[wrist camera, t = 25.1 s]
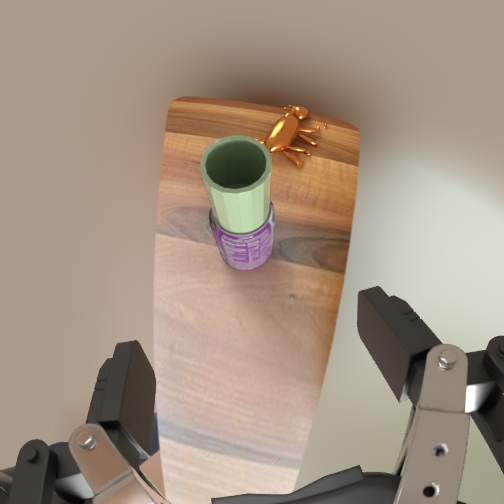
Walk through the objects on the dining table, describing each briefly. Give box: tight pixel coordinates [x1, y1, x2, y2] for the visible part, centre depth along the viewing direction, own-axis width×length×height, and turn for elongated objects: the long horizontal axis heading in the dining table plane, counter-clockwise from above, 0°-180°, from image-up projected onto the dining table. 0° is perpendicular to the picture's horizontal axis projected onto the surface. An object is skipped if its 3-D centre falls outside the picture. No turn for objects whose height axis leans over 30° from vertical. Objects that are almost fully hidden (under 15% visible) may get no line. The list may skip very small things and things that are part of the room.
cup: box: [200, 135, 272, 233], centre depth 29 cm, size 6×6×8 cm
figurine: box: [256, 105, 327, 167], centre depth 48 cm, size 12×4×11 cm
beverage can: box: [209, 200, 275, 271], centre depth 38 cm, size 7×7×12 cm
